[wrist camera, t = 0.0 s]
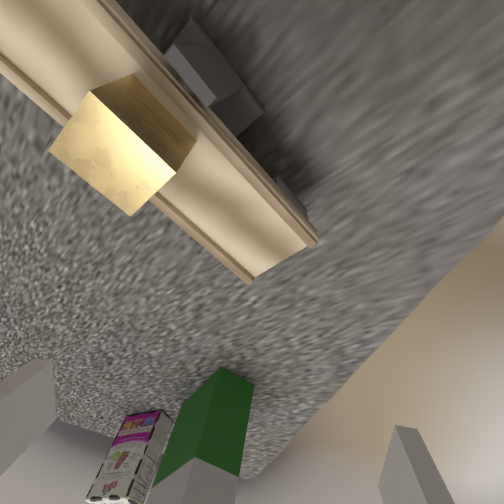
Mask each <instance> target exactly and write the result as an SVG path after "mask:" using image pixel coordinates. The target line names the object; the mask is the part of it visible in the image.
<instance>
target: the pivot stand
mask: <svg viewBox="0 0 504 504" xmlns="http://www.w3.org/2000/svg"><path fill="white" fill-rule="evenodd" d="M163 55H164V57H165V58H166V59H167V61H168V62H169V63H170V64H171V65H172V67H173V68H174V69H175V70H176V72H177V73H178V74H179V75H180V76H181V78H182V79H183V80H184V81H185V82H186V84H187V85H188V86H189V87H190V89H191V90H192V91H193V92H194V93H195V95H196V96H197V97H198V98H199V99H200V101H201V102H202V103H203V104H204V106H205V107H206V108H208V107H209V108H210V109H211V110H212V111H213V112H214V114H215V115H216V116H217V117H218V118H219V119H220V120H221V122H222V123H223V124H224V125H225V126H226V127H227V128H228V130H229V131H230V132H231V133H232V134H233V135H234V136H235V137H237V136H238V135H240V134H241V133H242V132H243V131H244V130H245V129H246V128H247V127H248V126H249V125H250V124H252V123H253V122H254V121H255V120H256V119H257V118H258V117H259V116H260V115H261V114H262V113H263V112H264V109H263V108H262V107H261V105H260V104H259V103H258V101H257V100H256V99H255V97H254V96H253V95H252V93H251V92H250V91H249V89H248V88H247V87H246V85H245V84H244V83H243V81H242V80H241V79H240V77H239V76H238V75H237V73H236V72H235V71H234V69H233V68H232V67H231V65H230V64H229V63H228V61H227V60H226V59H225V57H224V56H223V55H222V53H221V52H220V51H219V49H218V48H217V47H216V45H215V44H214V43H213V41H212V40H211V39H210V37H209V36H208V35H207V33H206V32H205V31H204V29H203V28H202V27H201V25H200V24H199V23H198V21H197V20H196V19H193V18H190V19H189V21H188V22H187V23H186V25H185V26H184V27H183V28H182V30H181V31H180V32H179V34H178V35H177V36H176V37H175V39H174V40H173V41H172V43H171V44H170V45H169V46H168V48H167V49H166V50H165V52H164V53H163Z"/></svg>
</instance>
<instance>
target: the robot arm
mask: <svg viewBox="0 0 504 504" xmlns="http://www.w3.org/2000/svg"><path fill="white" fill-rule="evenodd" d="M55 420H56V413H55V399H54V384H53V370H52V362H50V361H45V360H39V359H33V360H31V361H30V362H29V363H27V364H26V365H24V366H23V367H21V368H20V369H19V370H17V371H16V372H14V373H13V374H11V375H10V376H9V377H7V378H6V379H4V380H3V381H1V382H0V476H1V475H2V474H3V473H4V471H6V470H7V469H8V468H9V467H10V466H11V465H12V463H13V462H14V461H15V460H16V459H17V458H18V457H19V456H20V455H21V454H22V453H23V452H24V451H25V450H26V449H27V448H28V447H29V446H30V445H31V444H32V443H33V442H34V441H35V440H36V439H37V438H38V437H39V436H40V435H41V434H42V433H43V432H44V431H45V430H46V429H47V428H48V427H49V426H50V425H51V424H52V423H53V422H54V421H55ZM379 489H380V493H381V496H382V500H383V503H384V504H455V503H454V501H453V499H452V498H451V495H450V493H449V492H448V489H447V487H446V485H445V483H444V481H443V480H442V477H441V475H440V474H439V471H438V469H437V467H436V465H435V463H434V462H433V459H432V457H431V455H430V453H429V451H428V450H427V447H426V445H425V443H424V441H423V440H422V437H421V435H420V433H419V432H418V430H417V429H413V428H408V427H403V426H397V425H395V426H394V430H393V434H392V437H391V441H390V445H389V448H388V452H387V456H386V460H385V463H384V467H383V470H382V474H381V478H380V481H379Z"/></svg>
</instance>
